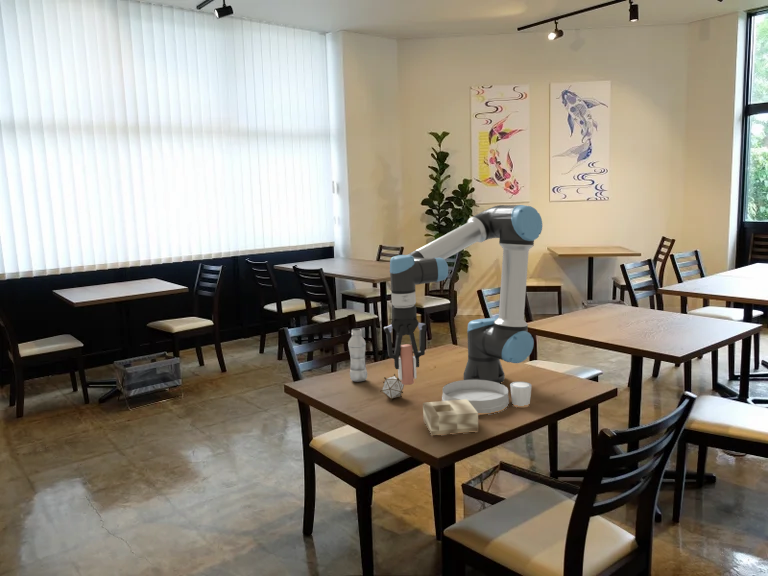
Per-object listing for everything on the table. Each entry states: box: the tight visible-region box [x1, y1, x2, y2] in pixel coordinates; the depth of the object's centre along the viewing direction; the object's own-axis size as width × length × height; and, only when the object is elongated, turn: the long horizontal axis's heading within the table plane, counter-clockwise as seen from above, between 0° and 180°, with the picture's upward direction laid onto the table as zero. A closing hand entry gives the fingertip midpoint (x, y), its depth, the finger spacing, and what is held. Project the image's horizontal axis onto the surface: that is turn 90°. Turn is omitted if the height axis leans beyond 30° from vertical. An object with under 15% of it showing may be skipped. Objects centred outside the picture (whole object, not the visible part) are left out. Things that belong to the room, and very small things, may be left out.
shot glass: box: [509, 381, 533, 406], centre depth 200 cm, size 7×7×7 cm
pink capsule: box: [399, 343, 415, 386], centre depth 192 cm, size 4×4×12 cm
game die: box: [379, 373, 405, 402], centre depth 210 cm, size 9×8×10 cm
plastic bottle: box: [347, 328, 368, 383], centre depth 230 cm, size 6×7×20 cm
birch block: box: [422, 399, 479, 436], centre depth 184 cm, size 14×12×6 cm
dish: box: [441, 379, 510, 413], centre depth 203 cm, size 22×22×5 cm
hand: (407, 377), depth 193 cm, fingers closed on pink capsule, 4 cm apart
